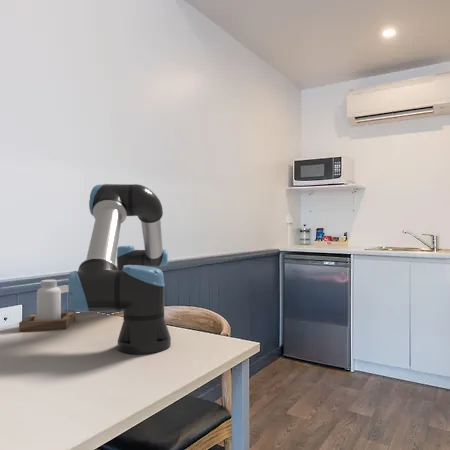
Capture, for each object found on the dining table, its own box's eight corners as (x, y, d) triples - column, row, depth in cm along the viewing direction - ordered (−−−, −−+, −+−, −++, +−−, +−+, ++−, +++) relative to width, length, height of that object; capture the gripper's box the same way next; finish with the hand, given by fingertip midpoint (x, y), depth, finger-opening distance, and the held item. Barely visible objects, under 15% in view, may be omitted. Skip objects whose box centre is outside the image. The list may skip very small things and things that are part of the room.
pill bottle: (55, 324, 141) (54, 281, 141) (32, 325, 141) (32, 282, 141) (64, 319, 149) (64, 278, 149) (43, 319, 149) (42, 279, 149)
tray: (66, 329, 138) (65, 320, 138) (19, 331, 136) (19, 322, 136) (75, 319, 153) (75, 311, 153) (33, 321, 151) (33, 313, 151)
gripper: (132, 295, 164) (90, 304, 146) (89, 291, 176) (46, 299, 158) (131, 276, 164) (90, 283, 146) (88, 273, 176) (45, 279, 158)
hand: (67, 291), depth 152 cm, fingers open, 13 cm apart
